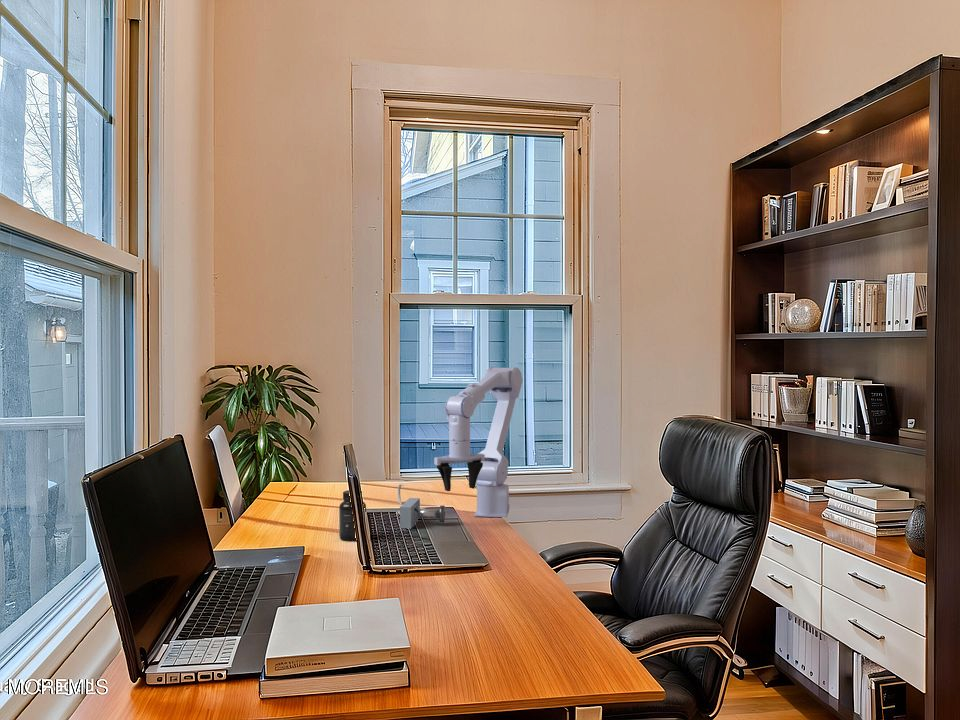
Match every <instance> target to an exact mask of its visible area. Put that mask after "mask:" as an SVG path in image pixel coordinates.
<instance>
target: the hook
mask: <svg viewBox="0 0 960 720" xmlns="http://www.w3.org/2000/svg"><path fill="white" fill-rule="evenodd" d="M402 487H404V484H403V483H399V484H398V487H397V500H398V501H397V502H398V504H399V503H400V504H402V505H403V504H404V503H402V499H401V488H402ZM400 504H399V505H400ZM420 509H425V508H424V507H420ZM398 513H399V514H400V509H399V510H398V511H397V514H398Z"/></svg>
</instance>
